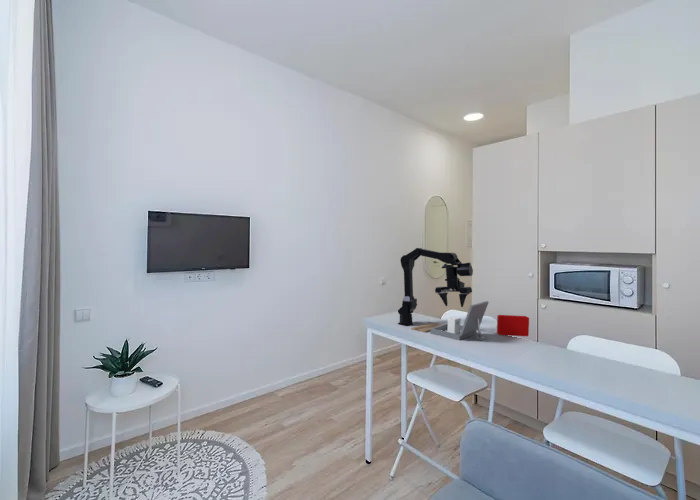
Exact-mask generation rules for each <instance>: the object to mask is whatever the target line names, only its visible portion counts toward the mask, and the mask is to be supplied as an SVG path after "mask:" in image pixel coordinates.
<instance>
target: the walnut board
mask: <svg viewBox="0 0 700 500" xmlns="http://www.w3.org/2000/svg"><path fill="white" fill-rule="evenodd" d="M441 325H442V324H441V323H435V322H427V323H425V324H422V325H418V326H413V327H411V330H413V331H418V332H422V333H429V332H431V328H434V327H438V326H441Z"/></svg>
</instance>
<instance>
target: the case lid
mask: <svg viewBox="0 0 700 500" xmlns="http://www.w3.org/2000/svg"><path fill="white" fill-rule="evenodd" d="M489 303H490V302H489V301H488V300H487V301H481V302H479V303H474V304H471V305H470V306H469V308H468V311H467V314H466V316H465V319H464V321H463V325H462V326H463V327H462V330H460V333H459V334H460V336H463V335H465V334H468V333H470V332H473V331H476V330H477V331H478V325H477V319H479V324H480V325H481V323H482V321H483V318H484V316H485V314H486V310H487V308H488V305H489ZM477 331H476V332H477Z"/></svg>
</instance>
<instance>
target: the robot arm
mask: <svg viewBox="0 0 700 500" xmlns="http://www.w3.org/2000/svg"><path fill="white" fill-rule="evenodd" d="M420 257H425V258H429V259H430V258H431V259H435V260H439V261H440V262H442V263H444V264H443V265H442V267H441V269H445V277H446V278H445V279H444V281H445V282H446V286H436V287H435V288H434V293H435V294H437V295H439V298H440V299H441V300H442V302H443V304H444V306H445V307H448V294H449V293H451V292H455V293H459V294H458V296H459V303H460V307H461V308H464V304H465V301H466V298H467V296H468V295H471V293H473V289H472V287H471V286H465V285H466V284H465V282H463V281H461V280H460V277H472V276H473V275H474V269H473V266H472V264H471V262H465V263H462V261H461V260H460V259H459V257H458V255H457V253H455V252H441V251H435V250H431V249H425V248H422V247H416V248H415V249H413V250H412V251H410V252H408V253H407V254H405V255H404V254H403V255H402V256H401V257H400V259H399V261H400V265H401V268H402V270H403V286H404V297H403V299H402V303H401V307H399V308H398V310H397V312H398V315H399V322H397V324H398V325H402V326H405V327H407V326H412V325H414V323H413V313H414V311H415V310H416V309H417V306H418V303H417V302H418V299H417V298H415V296H414V289H413V288H414V285H413V281H414V280H413V270H414V267H415V261H417V260H419V259H418V258H420ZM458 275H459V276H460V277H458Z"/></svg>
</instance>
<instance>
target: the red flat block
mask: <svg viewBox="0 0 700 500" xmlns="http://www.w3.org/2000/svg"><path fill="white" fill-rule="evenodd" d="M496 316H497V319H496V322H497V323H496V334H498V335H499V336H508V337H509V336H510V337H511V336H514V337H515V336H516V337H528V336H530V335H529V331H530V317H528V316H527V315H513V314H511V315H509V314H497V315H496Z"/></svg>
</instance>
